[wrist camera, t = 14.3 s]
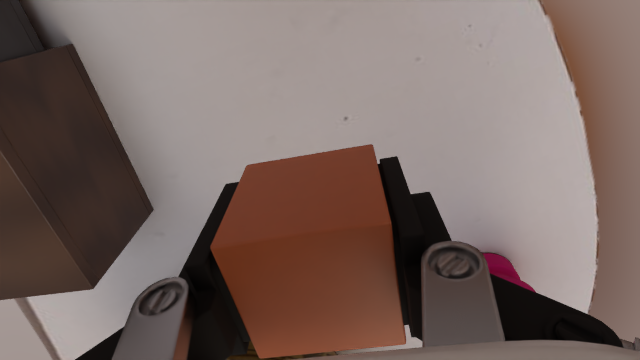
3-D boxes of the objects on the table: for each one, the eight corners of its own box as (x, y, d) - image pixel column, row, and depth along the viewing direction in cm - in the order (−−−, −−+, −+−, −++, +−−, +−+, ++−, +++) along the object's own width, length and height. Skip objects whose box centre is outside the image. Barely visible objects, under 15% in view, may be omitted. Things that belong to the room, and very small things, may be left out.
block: (246, 164, 11) (207, 247, 8) (372, 143, 11) (391, 221, 7) (277, 259, 13) (258, 359, 10) (386, 244, 13) (406, 345, 9)
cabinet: (-67, 71, 27) (-242, 114, 19) (72, 43, 26) (-50, 75, 18) (40, 226, 34) (-55, 306, 26) (153, 210, 33) (93, 289, 25)
